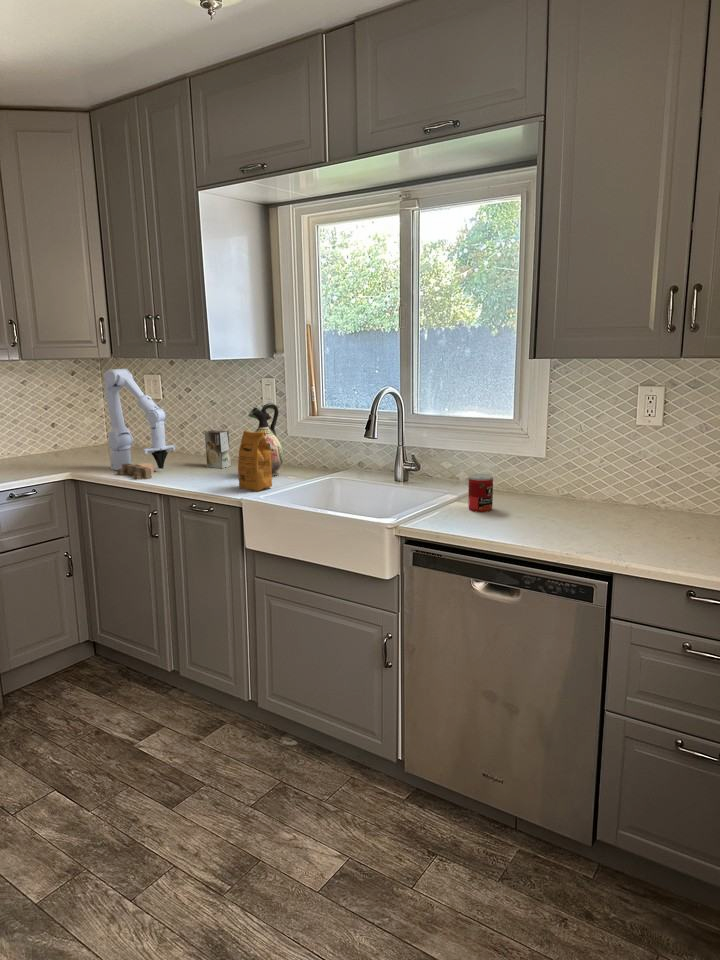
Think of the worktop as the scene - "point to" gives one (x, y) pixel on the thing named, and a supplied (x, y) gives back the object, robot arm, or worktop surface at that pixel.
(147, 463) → the terracotta block
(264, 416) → the ceramic jug
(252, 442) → the coffee package
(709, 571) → the worktop surface
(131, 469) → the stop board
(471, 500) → the canned food
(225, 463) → the coffee box
